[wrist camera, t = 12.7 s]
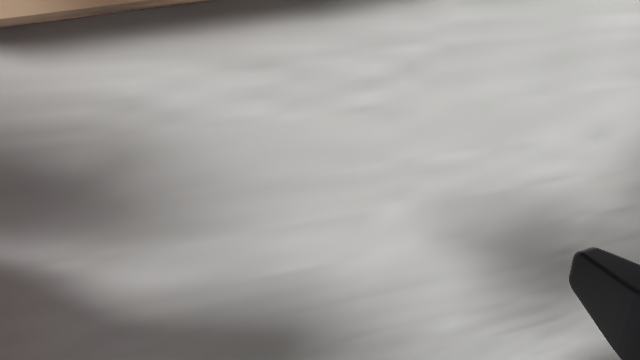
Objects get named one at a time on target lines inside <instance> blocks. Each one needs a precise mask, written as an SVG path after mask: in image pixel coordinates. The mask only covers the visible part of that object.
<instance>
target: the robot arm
mask: <svg viewBox="0 0 640 360" xmlns="http://www.w3.org/2000/svg"><path fill="white" fill-rule="evenodd" d="M569 282H570V285H571V287H572V289H573V291H574V292H575V294H576V295H577V297H578V298H579V300H580V301H581V303H582V304H583V306H584V307H585V309H586V310H587V311H588V313H589V314H590V316H591V317H592V319H593V320H594V322H595V323H596V325H597V326H598V328H599V329H600V331H601V332H602V333H603V335H604V336H605V338H606V339H607V341H608V342H609V344H610V345H611V346H612V348H613V349H614V350H615V352H616V353H617V354H618V356H619V357H620V358H621V359H622V360H640V265H639V264H636V263H634V262H631V261H629V260H626V259H624V258H621V257H619V256H616V255H614V254H611V253H609V252H606V251H604V250H601V249H599V248H594V247H592V248H588V249H585V250H582V251H578V252H576V253H575V254H574V257H573V261H572V266H571V270H570V275H569Z"/></svg>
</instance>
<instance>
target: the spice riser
mask: <svg viewBox="0 0 640 360" xmlns="http://www.w3.org/2000/svg"><path fill="white" fill-rule="evenodd" d="M202 1H210V0H0V28H2V27H9V26H17V25H25V24H32V23H40V22H48V21H56V20H63V19H71V18H79V17H86V16H94V15H102V14H110V13H117V12H125V11H133V10H141V9H148V8H156V7H164V6H171V5H179V4H187V3H195V2H202Z"/></svg>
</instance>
